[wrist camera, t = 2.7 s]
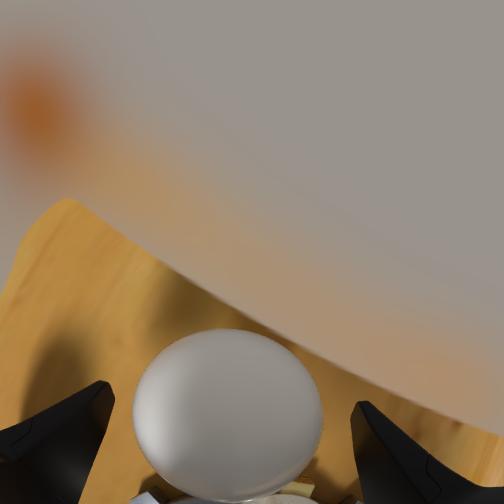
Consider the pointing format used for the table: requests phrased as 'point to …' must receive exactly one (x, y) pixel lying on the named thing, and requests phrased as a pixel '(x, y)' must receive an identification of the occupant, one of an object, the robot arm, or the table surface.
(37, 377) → the table surface
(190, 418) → the lightbulb
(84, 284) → the table surface
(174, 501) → the sprocket plate
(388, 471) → the robot arm
